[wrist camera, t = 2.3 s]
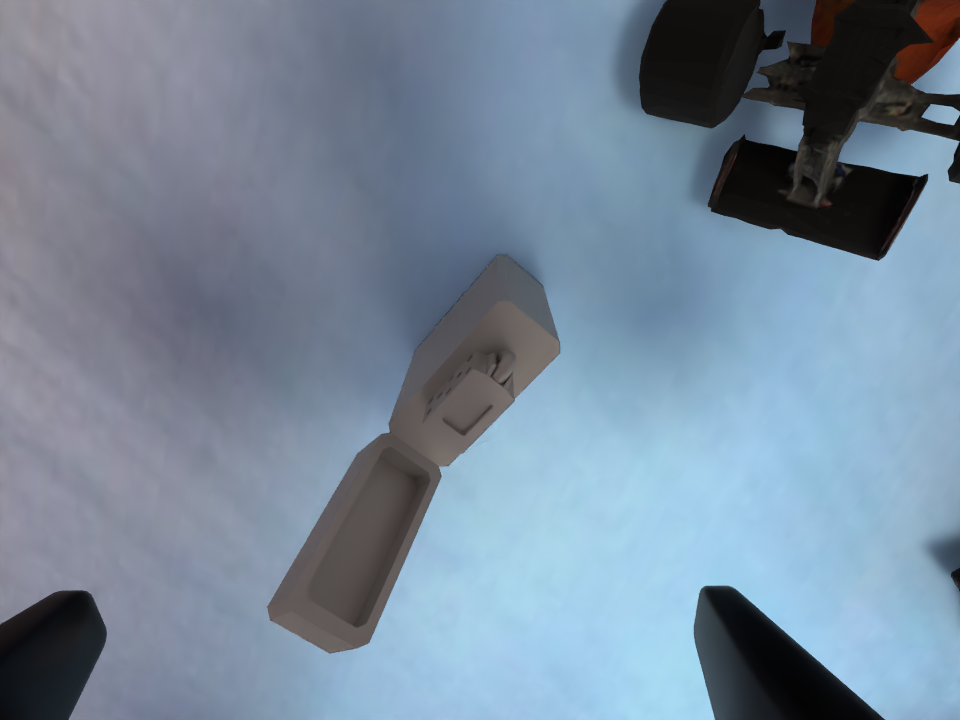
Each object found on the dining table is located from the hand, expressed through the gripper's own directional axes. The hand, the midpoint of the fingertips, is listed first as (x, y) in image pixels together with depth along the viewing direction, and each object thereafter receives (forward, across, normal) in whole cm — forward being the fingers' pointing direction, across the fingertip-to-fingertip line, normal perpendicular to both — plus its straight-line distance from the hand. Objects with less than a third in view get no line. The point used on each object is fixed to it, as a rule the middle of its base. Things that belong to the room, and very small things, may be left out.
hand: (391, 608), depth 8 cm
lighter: (+9, 0, 0) cm, 9 cm away
